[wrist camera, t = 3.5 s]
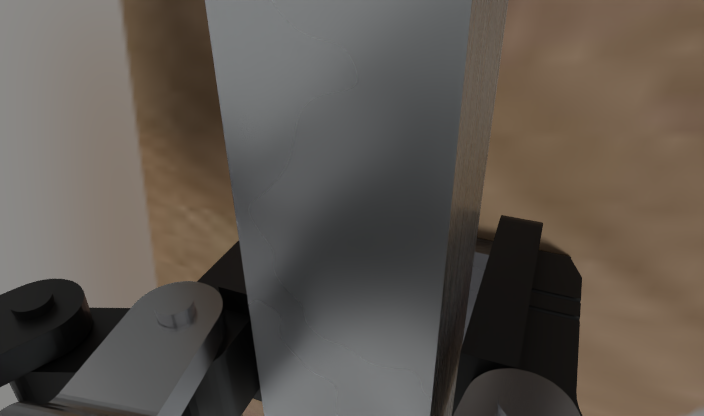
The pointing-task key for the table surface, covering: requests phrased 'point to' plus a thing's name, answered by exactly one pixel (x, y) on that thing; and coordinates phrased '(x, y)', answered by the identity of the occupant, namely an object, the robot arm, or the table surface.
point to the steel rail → (357, 191)
